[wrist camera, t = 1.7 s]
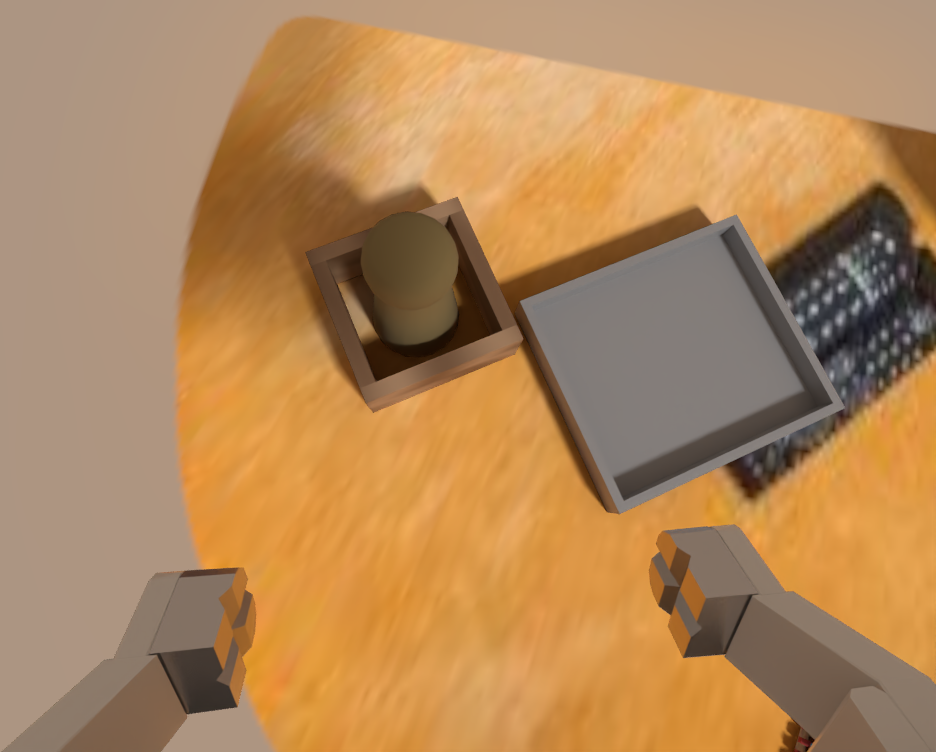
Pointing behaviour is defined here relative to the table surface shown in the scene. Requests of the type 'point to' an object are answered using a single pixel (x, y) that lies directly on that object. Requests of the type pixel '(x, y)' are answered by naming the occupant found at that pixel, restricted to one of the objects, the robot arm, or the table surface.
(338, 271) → the holder
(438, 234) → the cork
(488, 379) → the table surface
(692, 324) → the tray
